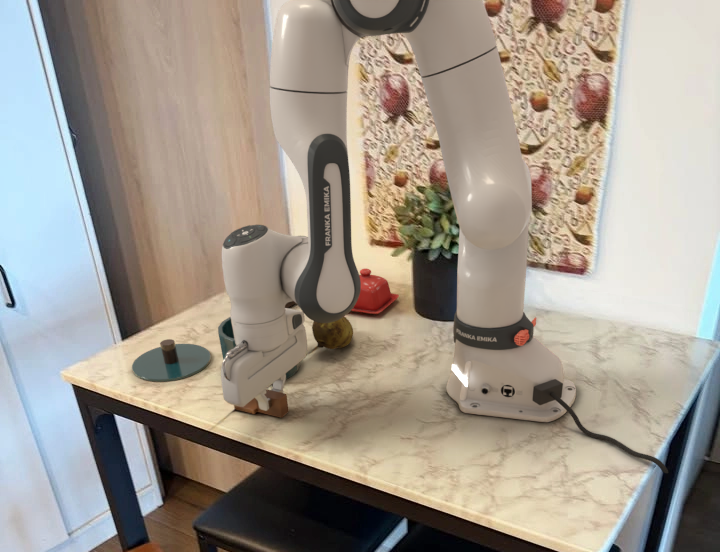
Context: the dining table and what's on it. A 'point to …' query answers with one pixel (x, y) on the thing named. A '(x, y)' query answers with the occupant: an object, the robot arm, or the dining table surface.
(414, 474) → the dining table surface
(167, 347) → the lid
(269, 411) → the brown stepped bar
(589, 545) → the dining table surface
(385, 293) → the butter dish
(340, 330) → the potato
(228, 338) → the pot
